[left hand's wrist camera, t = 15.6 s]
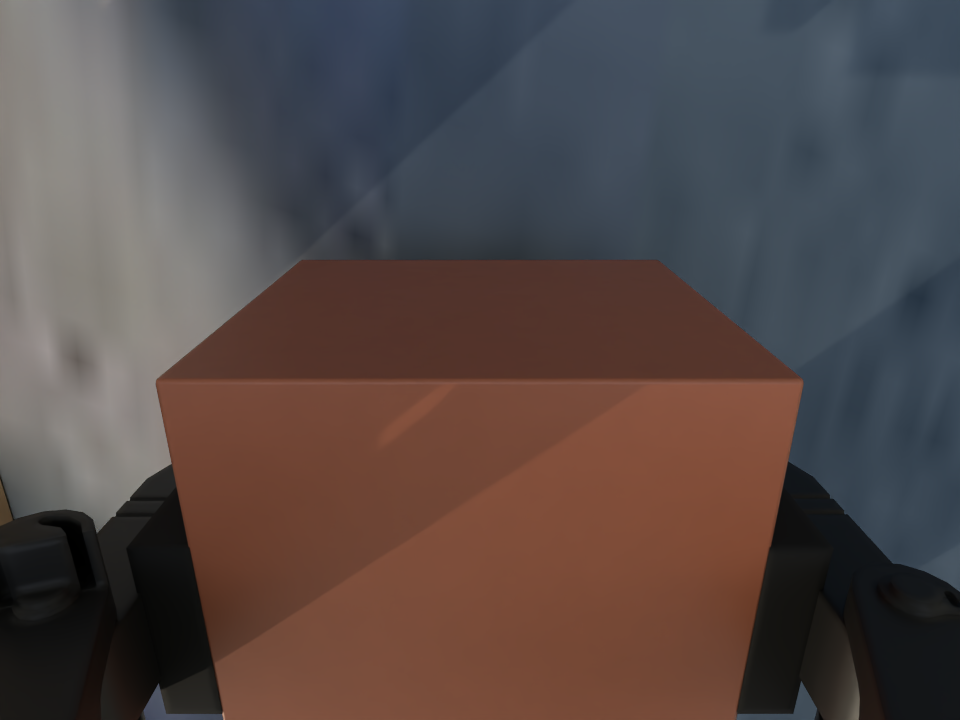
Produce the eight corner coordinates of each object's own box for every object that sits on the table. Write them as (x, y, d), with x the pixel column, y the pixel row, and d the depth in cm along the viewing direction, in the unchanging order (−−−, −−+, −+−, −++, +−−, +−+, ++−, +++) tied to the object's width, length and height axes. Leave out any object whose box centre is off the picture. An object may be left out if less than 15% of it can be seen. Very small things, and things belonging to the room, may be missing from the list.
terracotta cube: (628, 553, 15) (718, 818, 9) (330, 553, 15) (241, 818, 9) (659, 259, 12) (807, 379, 7) (300, 259, 12) (152, 379, 7)
